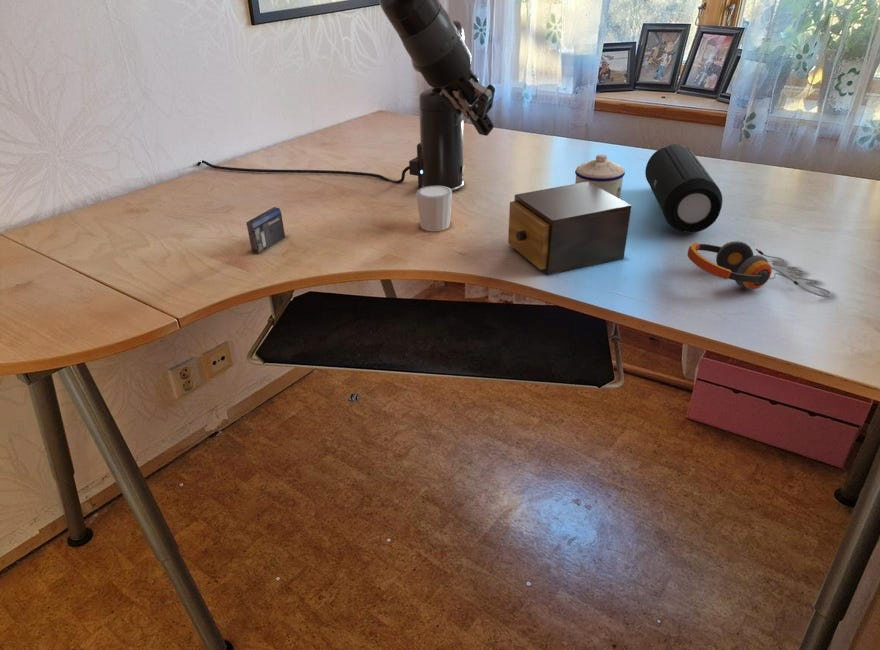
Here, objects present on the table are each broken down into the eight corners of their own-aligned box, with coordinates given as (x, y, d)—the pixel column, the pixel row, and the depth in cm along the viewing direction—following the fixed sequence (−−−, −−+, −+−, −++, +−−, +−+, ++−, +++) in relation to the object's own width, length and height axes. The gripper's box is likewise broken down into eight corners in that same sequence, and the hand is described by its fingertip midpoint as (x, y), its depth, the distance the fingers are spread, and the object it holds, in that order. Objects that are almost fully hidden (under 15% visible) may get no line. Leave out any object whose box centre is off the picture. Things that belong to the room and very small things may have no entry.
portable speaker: (640, 188, 139) (647, 141, 134) (689, 188, 138) (698, 140, 132) (661, 237, 118) (671, 183, 113) (719, 237, 117) (732, 183, 111)
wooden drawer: (533, 271, 108) (536, 227, 104) (501, 244, 118) (503, 202, 113) (610, 255, 112) (616, 211, 107) (573, 230, 121) (578, 189, 117)
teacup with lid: (620, 223, 124) (629, 163, 118) (571, 222, 126) (577, 162, 120) (615, 201, 134) (623, 143, 128) (570, 200, 136) (575, 143, 129)
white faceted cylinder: (456, 220, 130) (456, 186, 126) (447, 233, 125) (446, 198, 121) (423, 217, 132) (422, 184, 128) (413, 231, 127) (411, 196, 123)
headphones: (851, 282, 96) (728, 266, 92) (832, 314, 99) (712, 299, 95) (784, 237, 110) (676, 221, 106) (769, 266, 113) (664, 251, 109)
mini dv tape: (258, 253, 122) (252, 223, 119) (252, 252, 123) (246, 222, 119) (285, 237, 128) (280, 207, 124) (279, 236, 128) (274, 206, 125)
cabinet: (548, 275, 109) (552, 220, 103) (512, 245, 119) (514, 194, 114) (623, 258, 112) (631, 205, 107) (582, 231, 123) (587, 181, 117)
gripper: (481, 26, 90) (530, 119, 102) (422, 24, 99) (473, 108, 111) (448, 68, 89) (501, 155, 101) (392, 61, 99) (447, 142, 111)
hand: (487, 131), depth 106 cm, fingers closed
